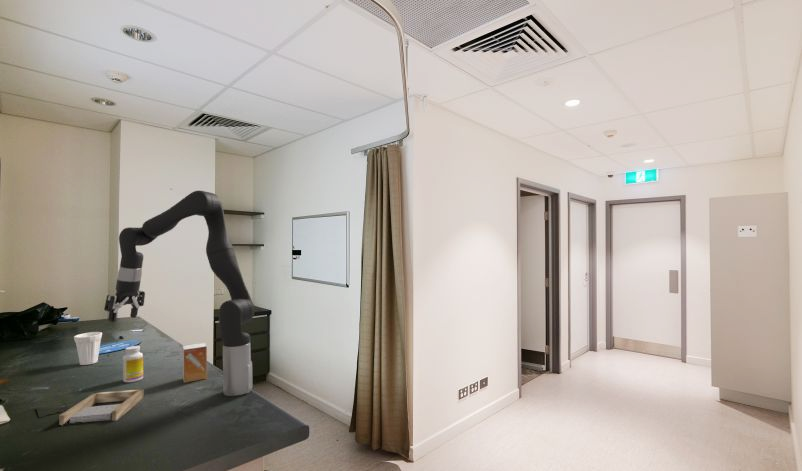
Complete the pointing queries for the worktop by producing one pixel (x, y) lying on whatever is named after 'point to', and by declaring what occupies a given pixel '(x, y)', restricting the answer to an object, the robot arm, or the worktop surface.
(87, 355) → the cup
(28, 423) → the worktop surface
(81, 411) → the cover plate
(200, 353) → the small box
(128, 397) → the wooden bracket
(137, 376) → the supplement bottle
